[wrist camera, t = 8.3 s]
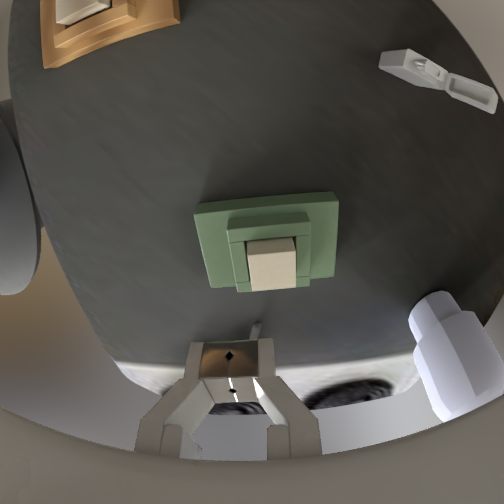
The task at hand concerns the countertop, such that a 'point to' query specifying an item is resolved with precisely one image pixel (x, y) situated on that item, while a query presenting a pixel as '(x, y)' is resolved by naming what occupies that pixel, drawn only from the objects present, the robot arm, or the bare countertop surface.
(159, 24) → the key block
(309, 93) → the countertop surface
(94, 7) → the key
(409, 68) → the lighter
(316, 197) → the key block
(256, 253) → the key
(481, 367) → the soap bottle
